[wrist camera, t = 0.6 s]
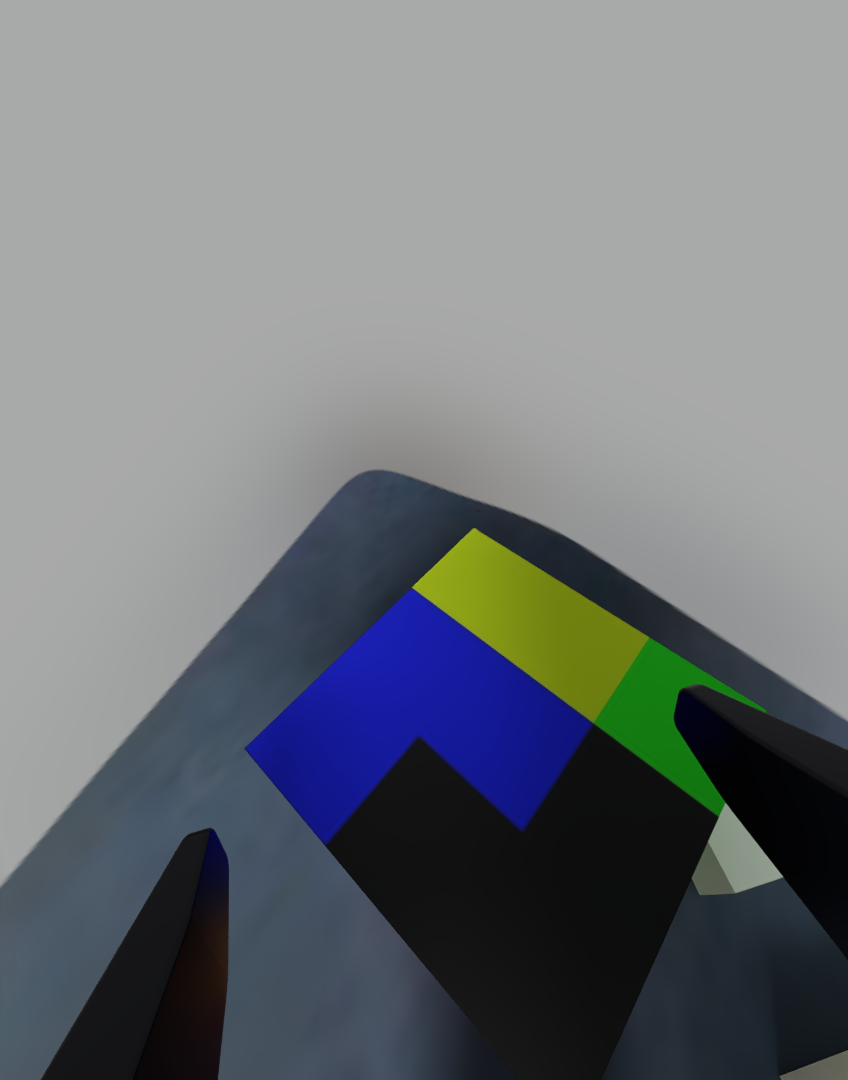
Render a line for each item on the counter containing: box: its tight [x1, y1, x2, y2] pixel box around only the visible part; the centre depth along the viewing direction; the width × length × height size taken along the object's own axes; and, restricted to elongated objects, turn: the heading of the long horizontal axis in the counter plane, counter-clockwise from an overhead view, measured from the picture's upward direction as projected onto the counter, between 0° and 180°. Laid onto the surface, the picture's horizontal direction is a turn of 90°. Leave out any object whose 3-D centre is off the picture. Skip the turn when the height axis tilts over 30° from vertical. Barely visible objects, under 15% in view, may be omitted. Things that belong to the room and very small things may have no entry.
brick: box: [692, 803, 783, 895], centre depth 19 cm, size 4×4×3 cm
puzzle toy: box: [244, 528, 767, 1080], centre depth 17 cm, size 10×10×10 cm
